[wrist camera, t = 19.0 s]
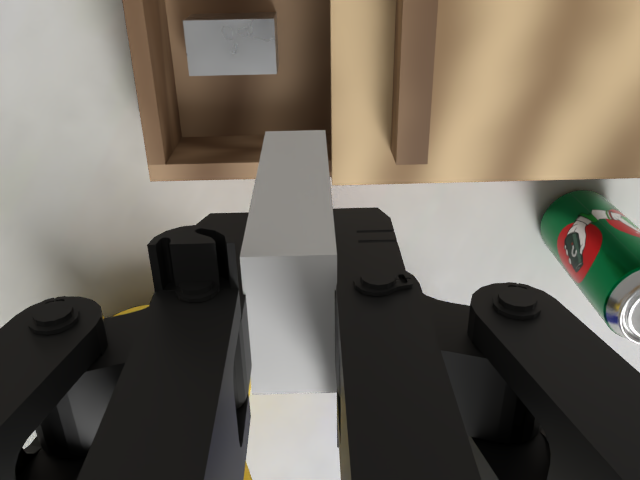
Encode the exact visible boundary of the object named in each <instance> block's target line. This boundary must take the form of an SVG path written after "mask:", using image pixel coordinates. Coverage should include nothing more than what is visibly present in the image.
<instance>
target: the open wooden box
mask: <svg viewBox="0 0 640 480" xmlns="http://www.w3.org/2000/svg"><path fill="white" fill-rule="evenodd" d="M122 2H123V8H124V14H125V21H126V27H127V34H128V40H129V47H130V53H131V59H132V66H133V72H134V79H135V85H136V92H137V98H138V105H139V111H140V117H141V124H142V130H143V137H144V143H145V150H146V156H147V162H148V169H149V175H150V181H188V180H229V179H256V175H257V170H258V165H259V160H260V155H261V151H262V146H263V141H264V136H265V131H304V130H325V133H326V143H327V154H328V164H329V175H330V177H332V153H331V51H330V0H122ZM260 12H277V33H278V54H279V66H278V71H277V74H260V75H216V76H189V70H188V61H187V53H186V44H185V35H184V26H183V20H184V19H186V18H187V17H189V16H190V15H191V14H214V13H260Z"/></svg>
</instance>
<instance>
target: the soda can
mask: <svg viewBox="0 0 640 480" xmlns="http://www.w3.org/2000/svg"><path fill="white" fill-rule="evenodd" d="M540 231H541V236H542V239H543V241H544V243H545V244H546V246H547V247H548V248H549V250H550V251H551V252H552V253H553V255H554V256H555V257H556V259H557V260H558V261H559V263H560V264H561V265H562V267H563V268H564V269H565V271H566V272H567V273H568V274H569V276H570V277H571V278H572V280H573V281H574V282H575V284H576V285H577V286H578V288H579V289H580V290H581V291H582V293H583V294H584V295H585V297H586V298H587V299H588V301H589V302H590V303H591V305H592V306H593V307H594V309H595V310H596V311H597V312H598V314H599V315H600V316H601V318H602V319H603V320H604V322H605V323H606V324H607V326H608V327H609V328H610V329H611V330H612V331H613V332H614V333H616V334H617V335H619V336H621V337H624V338H627V339H629V340H630V341H632V342H634V343H637V344H640V229H639V228H638V227H637V226H636V225H634V224H633V223H632V222H631V221H630V220H629V219H628V218H627V217H625V216H624V215H623V214H622V213H621V212H620V211H619V210H618V209H617V208H615V207H614V206H613V205H612V204H611V203H610V202H609V201H608V200H606V199H605V198H604V197H603V196H602V195H600V194H598V193H596V192H593V191H588V190H580V191H574V192H570V193H568V194H565V195H563V196H561V197H560V198H558V199H557V200H555V201H554V202H553V203H552V204H551V205H550V206H549V208H548V209H547V210H546V212H545V214H544V215H543V218H542V221H541V227H540Z"/></svg>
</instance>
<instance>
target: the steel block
mask: <svg viewBox="0 0 640 480" xmlns="http://www.w3.org/2000/svg"><path fill="white" fill-rule="evenodd" d="M183 26H184V35H185V44H186V53H187V61H188V70H189V76H216V75H260V74H277V71H278V66H279V54H278V33H277V12H260V13H214V14H191V15H190V16H189V17H187V18H186V19H184V20H183Z"/></svg>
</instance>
